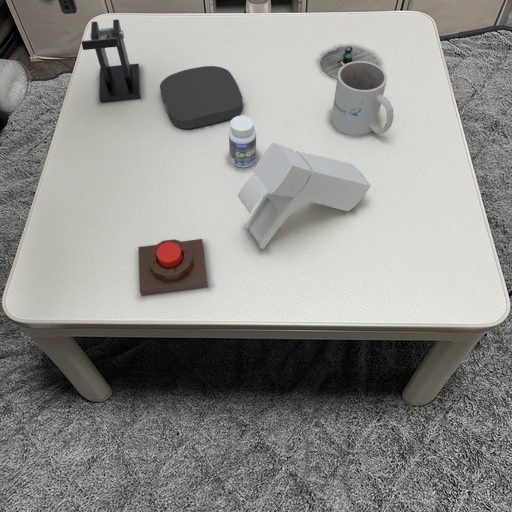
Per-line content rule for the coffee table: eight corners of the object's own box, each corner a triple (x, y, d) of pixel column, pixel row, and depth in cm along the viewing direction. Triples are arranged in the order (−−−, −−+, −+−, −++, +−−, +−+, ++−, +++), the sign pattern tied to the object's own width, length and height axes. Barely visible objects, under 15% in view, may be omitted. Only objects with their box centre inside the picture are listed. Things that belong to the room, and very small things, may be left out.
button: (159, 270, 76) (156, 263, 75) (157, 250, 78) (155, 243, 77) (183, 266, 77) (181, 260, 75) (181, 247, 79) (180, 240, 77)
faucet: (373, 185, 83) (294, 164, 68) (312, 255, 91) (230, 249, 76) (350, 161, 86) (270, 135, 72) (294, 231, 94) (211, 220, 79)
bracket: (140, 98, 103) (126, 40, 93) (100, 102, 103) (81, 45, 92) (139, 68, 109) (126, 10, 98) (101, 72, 108) (83, 14, 98)
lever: (119, 50, 88) (116, 35, 87) (83, 53, 88) (80, 38, 87) (125, 40, 99) (122, 26, 98) (93, 43, 98) (90, 29, 97)
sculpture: (312, 73, 108) (322, 33, 105) (323, 79, 116) (333, 42, 114) (367, 86, 104) (379, 45, 102) (375, 91, 112) (386, 53, 110)
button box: (141, 296, 77) (137, 284, 75) (140, 253, 82) (136, 240, 79) (207, 287, 78) (205, 274, 75) (203, 244, 83) (200, 231, 80)
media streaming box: (248, 116, 100) (248, 104, 97) (175, 134, 97) (172, 121, 95) (225, 72, 108) (225, 59, 105) (157, 87, 105) (155, 75, 103)
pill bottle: (236, 171, 92) (234, 135, 85) (226, 154, 94) (223, 118, 87) (260, 163, 93) (260, 127, 86) (249, 146, 95) (248, 110, 88)
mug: (322, 114, 100) (328, 70, 92) (359, 100, 102) (368, 55, 94) (359, 154, 94) (368, 110, 85) (397, 138, 96) (410, 93, 88)
